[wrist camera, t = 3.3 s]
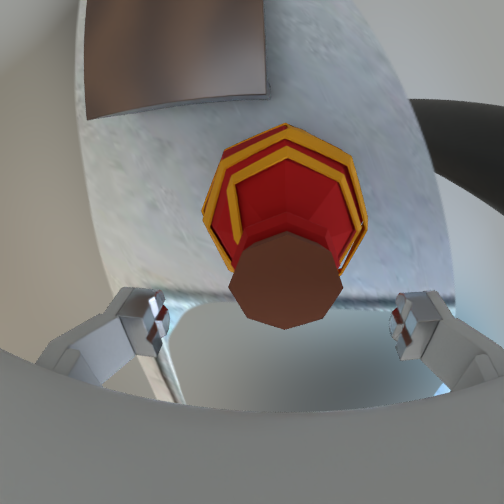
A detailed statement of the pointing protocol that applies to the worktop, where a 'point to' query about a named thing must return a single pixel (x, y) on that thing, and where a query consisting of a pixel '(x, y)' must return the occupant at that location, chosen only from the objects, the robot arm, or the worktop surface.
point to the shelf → (172, 54)
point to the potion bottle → (285, 223)
